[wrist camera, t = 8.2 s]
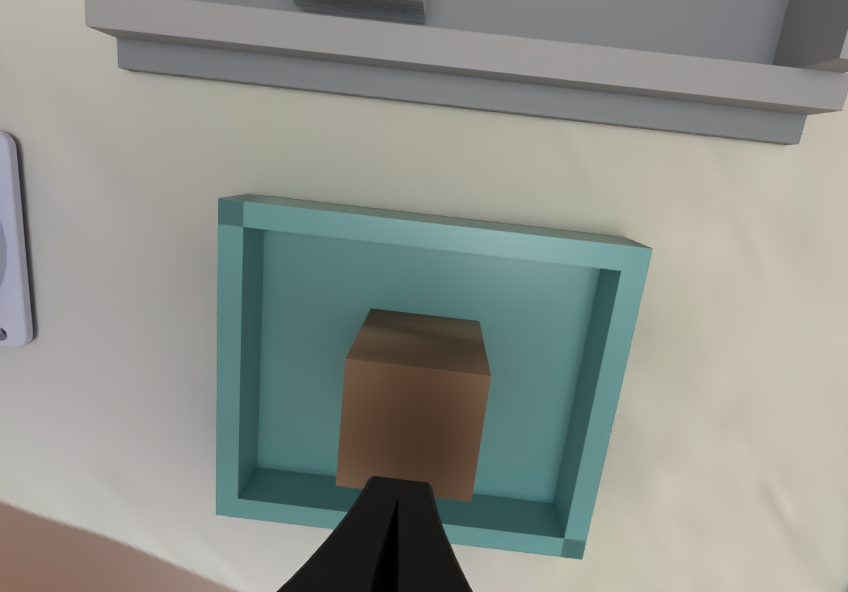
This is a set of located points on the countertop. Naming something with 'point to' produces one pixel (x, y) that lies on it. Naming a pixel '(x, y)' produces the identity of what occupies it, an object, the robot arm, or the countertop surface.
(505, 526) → the tray
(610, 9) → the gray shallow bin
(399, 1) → the light grey block
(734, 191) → the countertop surface
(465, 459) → the stop block
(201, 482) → the countertop surface
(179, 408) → the countertop surface
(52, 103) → the countertop surface
